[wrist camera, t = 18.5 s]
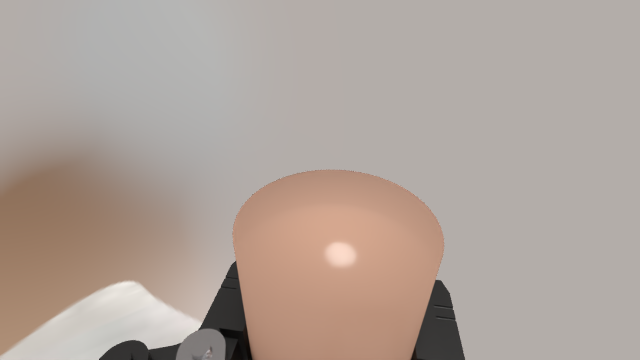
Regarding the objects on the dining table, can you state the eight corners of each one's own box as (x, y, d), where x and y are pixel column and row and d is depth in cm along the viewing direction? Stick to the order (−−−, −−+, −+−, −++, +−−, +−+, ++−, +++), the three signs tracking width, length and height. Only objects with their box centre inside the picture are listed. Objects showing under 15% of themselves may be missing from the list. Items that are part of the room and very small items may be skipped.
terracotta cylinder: (400, 409, 14) (466, 205, 8) (346, 546, 11) (393, 365, 5) (309, 349, 16) (311, 154, 10) (240, 446, 13) (185, 239, 7)
